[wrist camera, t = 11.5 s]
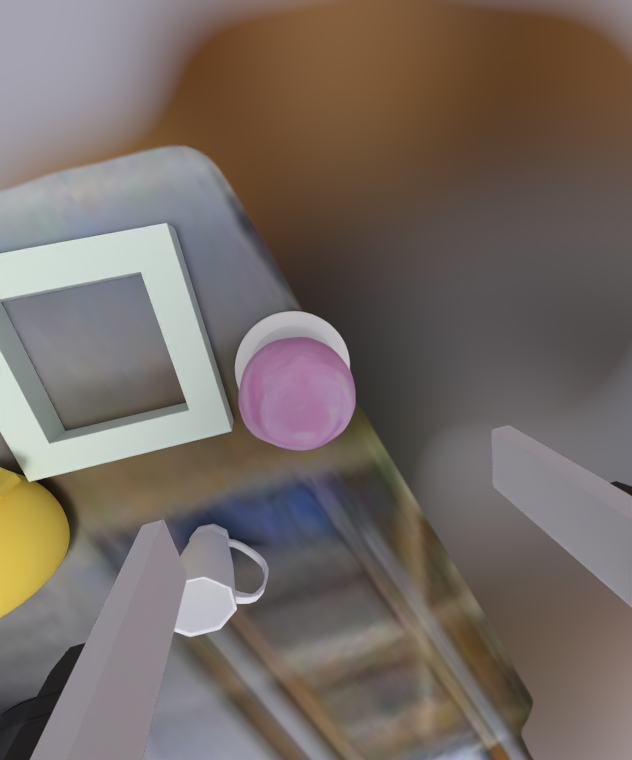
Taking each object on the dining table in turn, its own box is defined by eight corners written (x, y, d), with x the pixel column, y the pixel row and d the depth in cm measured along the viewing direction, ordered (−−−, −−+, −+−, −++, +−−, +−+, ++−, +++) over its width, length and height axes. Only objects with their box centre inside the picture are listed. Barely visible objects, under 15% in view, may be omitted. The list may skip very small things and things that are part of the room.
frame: (46, 466, 31) (28, 481, 29) (-59, 271, 25) (-92, 270, 23) (233, 420, 33) (231, 431, 30) (174, 228, 27) (166, 222, 25)
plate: (252, 429, 33) (251, 435, 32) (221, 324, 30) (220, 326, 28) (354, 404, 34) (358, 408, 33) (336, 299, 31) (340, 300, 30)
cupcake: (229, 397, 30) (216, 449, 21) (263, 311, 29) (265, 325, 19) (315, 426, 33) (337, 485, 23) (351, 348, 31) (391, 377, 22)
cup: (182, 509, 35) (160, 574, 27) (274, 520, 37) (277, 582, 29) (172, 562, 36) (148, 636, 29) (260, 569, 39) (260, 639, 31)
